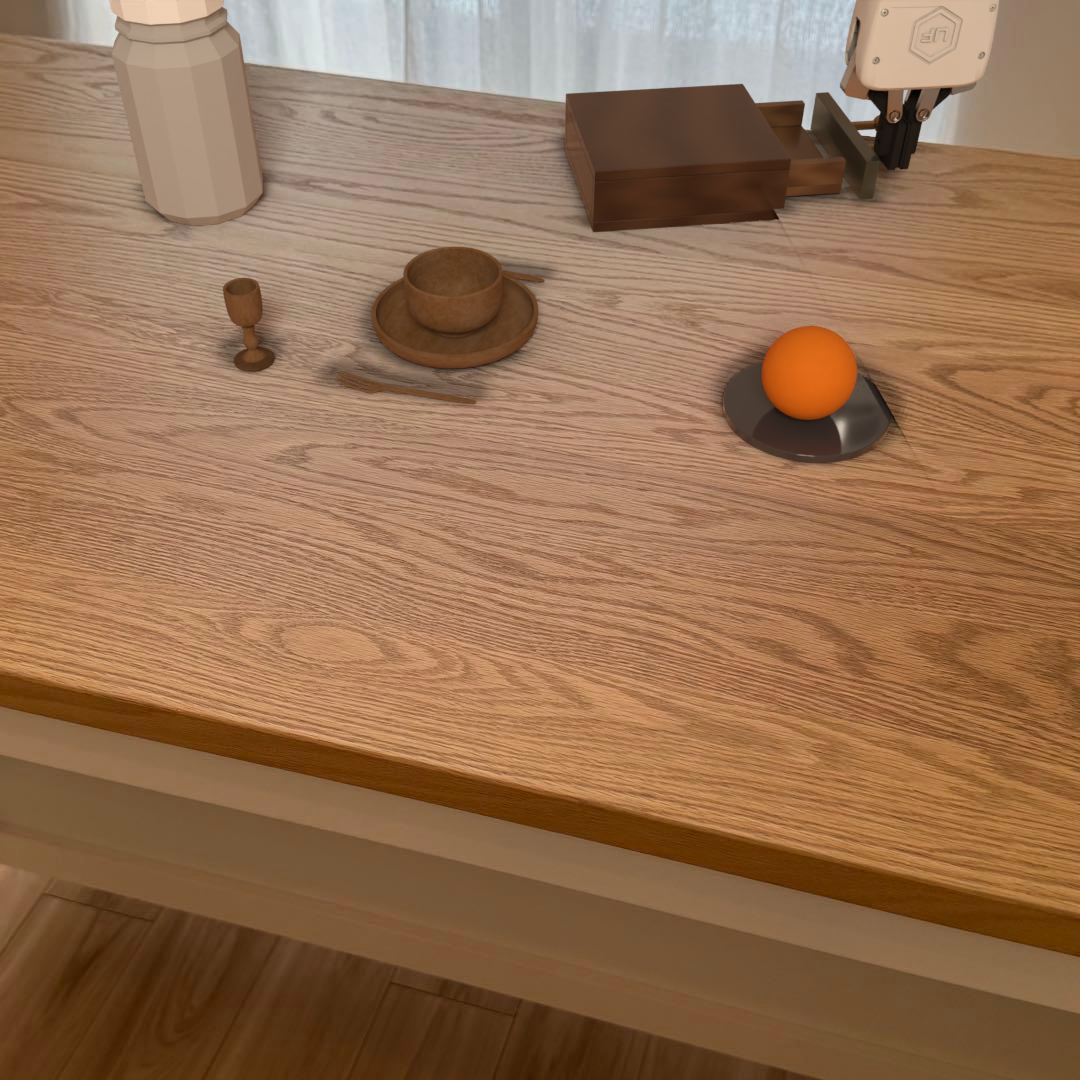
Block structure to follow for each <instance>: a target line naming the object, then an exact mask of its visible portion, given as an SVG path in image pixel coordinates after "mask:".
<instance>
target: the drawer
mask: <svg viewBox="0 0 1080 1080" xmlns="http://www.w3.org/2000/svg"><path fill="white" fill-rule="evenodd" d="M755 104H756V105H757V107H758V108H759V110H760V111H761V113H762V114H763V116H764V118H765V119H766V121H767V122H768V124H769V125H770V127H771V128H772V130H773V132H774V133H775V135H776V136H777V138H778V139H779V141H780V143H781V144H782V146H783V147H784V149H785V150H786V152H787V153H788V155H789V157H790V158H791V163H790V171H789V177H788V184H787V191H786V197H797V196H812V195H827V194H840V193H841V191H842V185H843V179H844V180H845V181H846V182H847V184H848V186H849V187H850V189H851V190H852V191H853V193H854V194H855V195H856V197H857V199H858V200H873V199H874V195H875V191H876V187H877V186H876V185H877V180H878V176H879V171H880V165H881V161H880V159H879V158H878V156H877V155H876V154H875V152H874V143H868V142H867V141H866V139H864V137H863V135H862V134H861V133H860V132H859V131H870V130H874V131H875V132H876V131H877V126H878V121H879V116H880V114H878V115H876V116H875V117H874V118H873V120H856V121H851V120H850V118H849V117H848V116H847V114H846V113H845V112H844V111H843V109H842V108H841V106H839V104H838V102H837V101H836V100H835V99H834V98H833V96H832V94H830V91H829V92H828V91H825V92H816V93H815V97H814V102H813V109H812V116H811V122H810V131H811V132H812V134H813V135H814V136H815V138H816V140H817V141H818V142H819V144H820V145H821V147H822V148H823V150H824V151H825V153H826V154H827V155H828V157H824V156H823V155H822V153H821V151H820V150H819V149H818V147H817V145H816V144H815V143H814V141H813V139H812V138H811V137H810V136H809V134H808V133H807V130H805V128H804V127H803V119H804V112H805V107H806V103H805V102H804V100H801V99H800V100H785V101H783V100H782V101H767V102H755Z"/></svg>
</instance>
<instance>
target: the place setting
mask: <svg viewBox="0 0 1080 1080" xmlns="http://www.w3.org/2000/svg"><path fill="white" fill-rule="evenodd" d="M519 279H520V280H524V281H530V282H538V283H544V282H545V279H544V278H541V277H538V276H534V275H532V274H531V275H530V274H526V273H520V272H515V271H509V270H504V269H503V267H502V264H501V263H500V261H499V260H498V259H497V258H496V257H494V255H492V254H490V253H488V252H485V251H484V250H480V249H478V248H473V247H467V246H445V247H443V246H442V247H438V248H433V249H429V250H426V251H424V252H422V253H419V254H417V255H416V256H415V257H413V258H412V259H410V260H409V261H408V262H407V263H406V265H405V266H404V269H403V277H402V278H399V279H397V280H396V281H394V282H392V283H391V284H389V285H388V286H387V287H385V288H384V289H383V290H382V291H381V292H380V293H378V295H377V297H376V298H375V299H374V302H373V303H372V307H371V313H370V314H371V323H372V327H373V330H374V332H375V334H376V336H377V338H378V339H379V340H380V342H381V343H382V344H383V345H384V346H385V347H386V348H387V349H388V350H389V351H390V352H392V353H393V354H395V355H396V356H398V357H399V358H402V359H404V360H406V361H409V362H411V363H414V364H418V365H422V366H425V367H431V368H437V369H467V368H475V367H480V366H485V365H489V364H492V363H494V362H497V361H499V360H502V359H504V358H506V357H508V356H510V355H511V354H513V353H514V352H516V351H518V350H519V349H521V347H522V346H523V345H525V344H526V343H527V341H529V339H530V338H531V337H532V336H533V334H534V331H535V329H536V327H537V323H538V321H539V320H538V319H539V304H538V300H537V298H536V296H535V295H534V294H533V292H532V290H530V288H528V287H527V286H526V285H525V284H524V283H523V282H521V281H519ZM222 294H223V298H224V299H223V300H224V304H225V308H226V313H227V314H228V317H229V319H230V320H231V322H232V323H233V324H234V325H236V326H238V327H241V329H242V332H243V338H242V343H243V346H244V347H245V348H244V349H242V350H240V351H239V352H238V353H236V354H235V355H234V358H233V364H234V366H235V368H237V369H238V370H240V371H242V372H248V373H249V372H250V373H251V372H252V373H253V372H254V373H255V372H259V371H263V370H265V369H268V368H270V366H272V365H273V364H274V362H275V360H276V359H275V357H276V355H275V353H274V352H273V351H272V350H271V349H269V348H266V347H262V346H259V343H260V340H259V339H260V338H259V337H258V335H257V333H256V331H255V329H256V327H255V326H256V325H258V323H259V322H260V321H261V319H262V318H263V312H264V305H263V298H262V291H261V287H260V283H259V282H258V281H257V279H254V278H251V277H237V278H234V279H231V280H229V281H227V282H225V284H224V285H223V286H222ZM339 372H341V373H338V376H336V379H334V381H335V382H337V383H339V384H341V385H344V386H346V387H348V388H351V389H354V390H357V391H360V392H363V393H367V394H375V393H378V392H380V391H391V392H397V393H401V394H407V395H413V396H419V397H424V398H429V399H435V400H439V401H440V400H441V401H448V402H454V403H461V404H469V405H470V404H471V405H472V404H473V405H474V404H476V402H477V401H476V400H475V399H472V398H467V397H461V396H457V395H452V394H445V393H440V392H433V391H427V390H422V389H415V388H410V387H403V386H397V385H391V384H381V383H379V382H378V381H373V380H371V379H367V378H364V377H362V376H359V375H356V374H354V373H350V372H348V371H346V370H345V371H344V370H339ZM342 373H343V374H342ZM340 376H341V377H340ZM338 379H339V380H338Z"/></svg>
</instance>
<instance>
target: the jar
mask: <svg viewBox="0 0 1080 1080" xmlns="http://www.w3.org/2000/svg"><path fill="white" fill-rule="evenodd" d="M224 1H225V0H108V2H109V6H110V10H111V13H112V14H114V15H116V19H115V22H114V29H115V31H116V32H118V33H117V35H116V38H115V39H114V41H113V46H112V50H111V57H112V63H113V66H114V70H115V75H116V79H117V84H118V88H119V92H120V96H121V101H122V105H123V111H124V114H125V117H126V122H127V127H128V131H129V134H130V139H131V143H132V147H133V152H134V156H135V160H136V161H135V162H136V165H137V169H138V173H139V178H140V183H141V187H142V192H143V195H144V201H145V202H146V203H147V204H148V205H150V206H151V207H152V208H154V210H156V211H157V212H158V213H159V214H161V215H162V216H163V217H164V218H166V219H167V220H168V221H169V222H172V223H178V224H183V225H188V226H191V227H194V226H207V225H209V226H210V225H220V224H222V223H225V222H228V221H231V220H234V219H237V218H240V217H242V216H243V215H245V214H247V212H248V211H250V210H251V209H252V208H253V207H254V206H255V205H256V203H258V201H259V200H260V197H262V195H263V193H264V177H263V171H262V165H261V159H260V158H261V157H260V152H259V147H258V140H257V134H256V128H255V122H254V115H253V109H252V103H251V97H250V90H249V84H248V78H247V71H246V66H245V64H246V63H245V58H244V53H243V45H242V40H241V34H240V33H239V32H238V31H237V30H236V28H234V26H232V25H231V23H229V22H228V9H227V8H225V7H224V4H225V3H224Z"/></svg>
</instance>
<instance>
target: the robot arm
mask: <svg viewBox="0 0 1080 1080" xmlns="http://www.w3.org/2000/svg"><path fill="white" fill-rule="evenodd" d="M999 6H1000V0H855V3H854V7H853V12H852V16H851V19H850V24H849V29H848V33H847V39H846V44H845V52H844V59H845V60H844V62H845V65H846V68H845V70H844V73H843V75H842V78H841V80H840V82H839V88H840V89H841V91H842V92H843V93H844V95H845V96H847V97H849V98H852V99H853V98H854V99H859V100H864V101H870V102H871V103H872V104H873V105H874V106H875V108H876V109H877V110H878V111H879V115H880V116H879V121H878V126H877V131H876V130H875V137H874V142H873V144H874V152H875V154H876V156H877V157H878V158H879V160H880V163H882V165H883V166H884V168H885V169H886V170H887V171H895V170H896V169H899V170H908V169H909V167H910V162H911V159H912V158H911V157H912V155H915V154H916V151H917V147H918V143H919V138H920V135H921V129H922V125H923V122H925V121H927V120H929V118H930V117H931V115H932V113H933V110H934V109H936V108H937V107H938V106H939V105H940V104H942V102H944V101H945V100H946V99H947V98H948V97H949V96H954V95H958V94H961V93H964V92H969V91H971V90H973V89H974V88H975V87H976V85H977V82H978V81H980V80H981V79H982V78H983V77H984V75H985V73H986V71H987V68H988V65H989V61H990V56H991V53H992V47H993V43H994V37H995V32H996V26H997V21H998V20H997V19H998V13H999ZM904 91H907V92H906V94H905V97H904Z"/></svg>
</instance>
